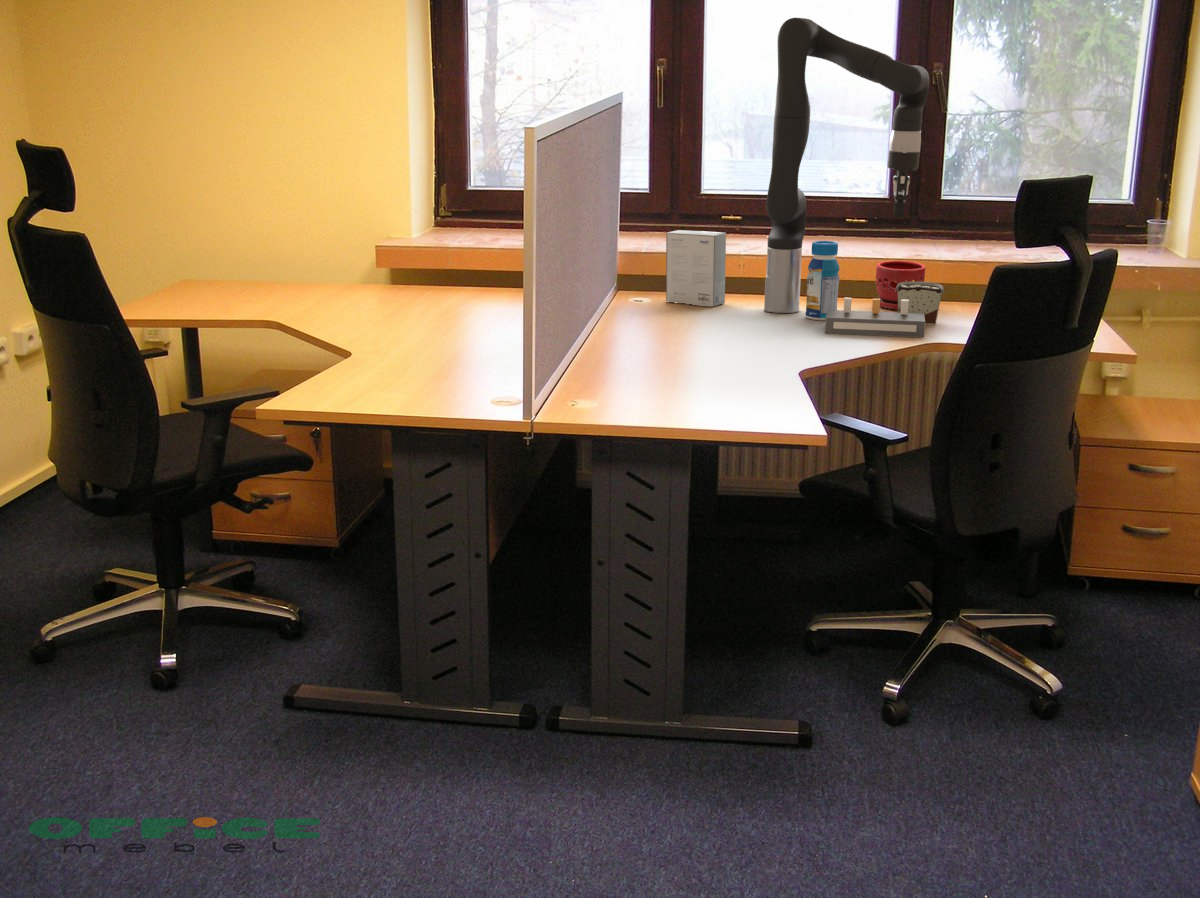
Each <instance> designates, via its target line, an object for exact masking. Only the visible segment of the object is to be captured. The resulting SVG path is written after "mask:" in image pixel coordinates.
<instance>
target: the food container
mask: <svg viewBox="0 0 1200 898" xmlns="http://www.w3.org/2000/svg"><path fill="white" fill-rule="evenodd" d="M896 291H898V310H897V313H900V311H901V300H909V305H908V313H921V314H924V316H925V325H933V326H934V325H936V324H937V319H938V315H939V314H938V313H939V309H940V304H941V299H942V296H943V295H945V290H944V286H943V284H940V283H937V282H929V281H924V282H914V281H912V282H902V283H899V284H898V285H897V286H896V290H895V292H896ZM942 294H943V295H942Z"/></svg>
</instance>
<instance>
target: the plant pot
mask: <svg viewBox="0 0 1200 898" xmlns="http://www.w3.org/2000/svg"><path fill="white" fill-rule="evenodd" d="M925 277H926V266H925V265H924V264H923V263H919V262H914V261H907V260H888V261H887V260H886V261H881V262H878V263H877V264H876V268H875V283H876V284H875V285H876V291H877V294H878V297H877V298H876V299H880V308H883V307H884V308H883V309H887V308H888V309H887V310H893V309H895V311H898V291H896V292H895V290H896V286H897V285H898V284H899V283H902V282H925Z"/></svg>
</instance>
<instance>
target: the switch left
mask: <svg viewBox="0 0 1200 898" xmlns="http://www.w3.org/2000/svg"><path fill="white" fill-rule="evenodd" d="M843 298H844V299H843V310H844V312H851V311H852V300H853V298H852V297H843Z"/></svg>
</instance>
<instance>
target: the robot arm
mask: <svg viewBox="0 0 1200 898" xmlns="http://www.w3.org/2000/svg"><path fill="white" fill-rule="evenodd" d="M808 57H813V58H816V59H820V60H821V59H822V60H825V61H827V62H830V63H833V64H836V65H837V66H838V67H841V68H843V69H845V70H846V71H848V72H849V73H851V74H853V75H855V76H858V77H860V78H863V79H865V80H867V81H870V82H873V83H876V84H879V85H881V86H882V87H884V88H886V89H888V90H890V91H892V92H893V93H896V94H898V95H899V99H898V100H899V102H898V105H897V106H896V108H895V109H894V112H893V118H892V125H891V134H890V138H889V145H888V147H889V148H888V159H887V168H888V169H890V170H895V171H896V172H895V175H893V181H892V182H893V188H892V190H893V198H894V201H893V217H894V218H900V219H901V218H903V217H904V211H905V203H906V202H907V201H906V200H907V198H908V197H907V195H909V194H908V193H909V186H910V183H911V177H910V176H909V175H908V172H909V171H916V170H917V169H918V168H919V165H920V154H921V146H922V145H921V144H922V135H921V134H922V126H923V125H922V124H923V111H924V108H925V105H926V101H927V98H928V93H929V88H930V76H929V72H928V71H927V69H926V68H924V67H923V66H921V65H910V64H907V63H904V62H901V61H899V60H896V59H893V57H892V56H891V55H888V54H886V53H883V52H881V51H878V50H875V49H873V48H869V47H867V46H864V45H862V44H858V43H856V42H853V41H851V40H850V41H849V40H847V39H845V38H842V37H840V36H838V35H836V34H834V33H832V32H831V31H830V30H828V29H826V28H824V27H822V26H821V25H819V24H817V23H816V22H815V21H813V20H812V19H809V18H804V17H791V18H788V19H786V20H785V21H784V22H783V23H782V25H781V26H780V28H779V30H778V34H777V85H776V94H775V95H776V97H775V107H774V108H775V109H774V116H773V131H772V134H773V135H772V138H773V139H772V150H771V151H772V153H771V154H772V155H771V172H770V178H769V182H768V183H769V184H768V189H767V195H766V196H767V197H766V201H765V209H766V214H767V215H768V217H769V219H770V220H772V221H771V222H772V223H771V230H770V233H769V235H768V237H767V251H766V252H767V254H766V255H767V257H766V276H765V280H764V281H765V283H764V301H763V302H764V304H763V305H764V307H763V309H764V310H763V312H770V313H775V314H776V313H777V314H792V313H797V312H799V310H800V297H801V296H800V295H801V280H802V279H801V276H802V257H803V256H802V254H803V253H802V252H803V240H804V236H805V233H806V220H807V209H808V208H807V199H806V196H805V193H804V191H802V190H801V188H799V174H800V173H799V172H800V166H801V164H802V163H801V162H802V159H803V156H804V154H805V151H806V148H807V143H808V139H809V134H810V133H809V132H810V124H811V123H810V122H811V105H810V97H809V94H808V90H807V84H806V69H807V58H808Z"/></svg>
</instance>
